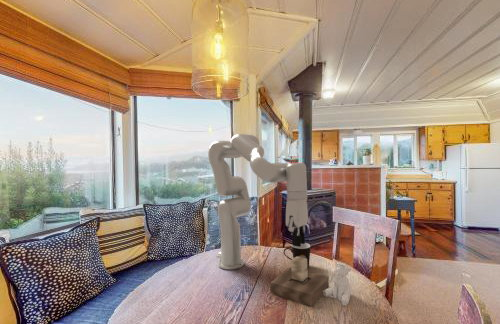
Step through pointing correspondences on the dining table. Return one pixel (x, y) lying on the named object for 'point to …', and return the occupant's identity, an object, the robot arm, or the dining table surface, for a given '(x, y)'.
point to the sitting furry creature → (340, 285)
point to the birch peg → (299, 270)
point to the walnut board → (300, 287)
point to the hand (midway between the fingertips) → (298, 244)
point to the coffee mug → (300, 252)
